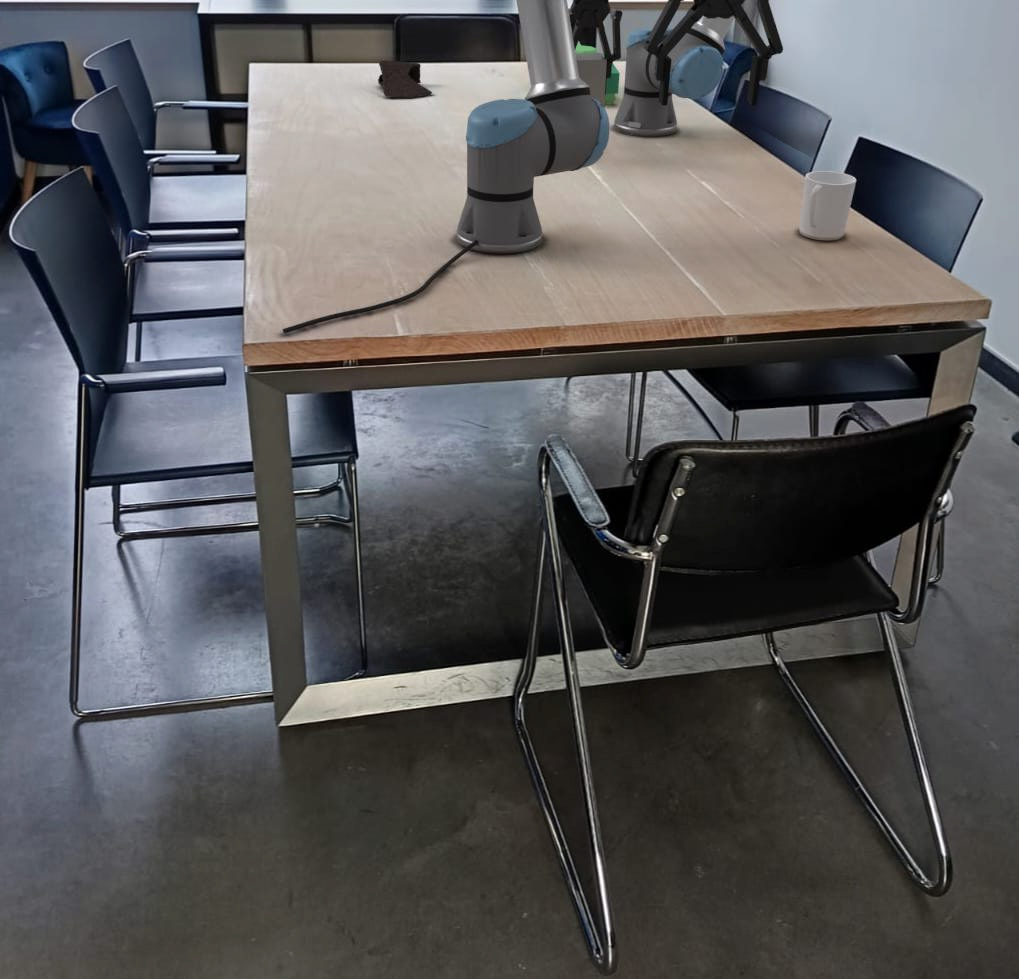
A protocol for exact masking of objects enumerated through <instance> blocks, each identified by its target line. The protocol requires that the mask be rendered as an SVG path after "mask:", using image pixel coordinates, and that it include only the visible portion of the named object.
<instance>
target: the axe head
mask: <svg viewBox="0 0 1019 979" xmlns="http://www.w3.org/2000/svg"><path fill="white" fill-rule="evenodd" d="M378 66H379V68H380V72H381V74H379V75H378V79H377V84H378V85H379V86H380V87H381V88H382V89H383V95H384V96H385V97H388V98H394V99H395V98H396V99H403V98H405V99H406V98H407V99H411V98H418V97H425V96H429V95H432V94H433V91H431V90H430V89H428V88H427V87H425V86H422V85H421V84H422V82H421V63H419V62H410V61H408V62H407V61H397V60H388V59H387V60H380V61H379V62H378Z"/></svg>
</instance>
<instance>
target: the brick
mask: <svg viewBox="0 0 1019 979" xmlns="http://www.w3.org/2000/svg"><path fill="white" fill-rule="evenodd" d="M575 54H576V61H577V67H578V73H579V77H580V79H581V80H582V81H584V82H585V83H586V84H588V85H589V87H590V94H591V98H593V99H595V100H598V101H599V102H600V103H601V104H602V107H603V108H605V104H604V101H605V82H606V63H607V60H606V59H605V58H604V57H603V56H602V55H601V54H602V53H601V52H598V53H575Z"/></svg>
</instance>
